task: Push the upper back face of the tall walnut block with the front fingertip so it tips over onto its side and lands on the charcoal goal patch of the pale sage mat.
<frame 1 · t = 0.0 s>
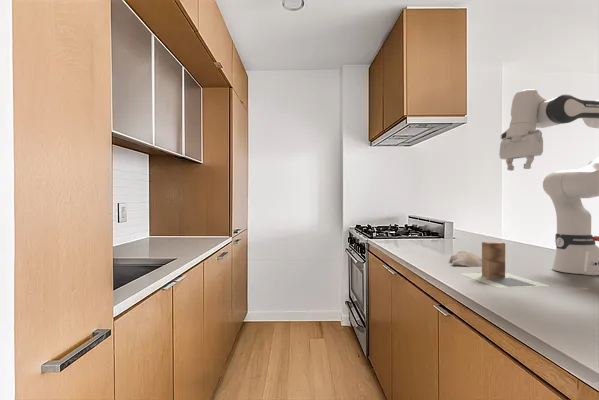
hand: (518, 169, 155), 39 cm above the countertop, tool pointing down, fingers open, 8 cm apart
sage mat: (501, 280, 142), on the countertop
walnut block: (493, 276, 146), resting on sage mat
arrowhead: (466, 262, 183), on the countertop
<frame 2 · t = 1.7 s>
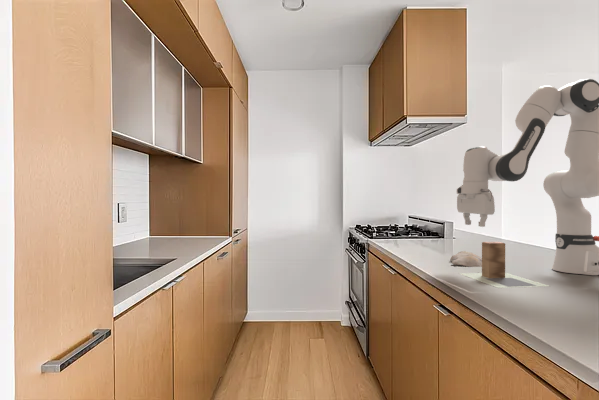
hand: (474, 225, 158), 18 cm above the countertop, tool pointing down, fingers open, 8 cm apart
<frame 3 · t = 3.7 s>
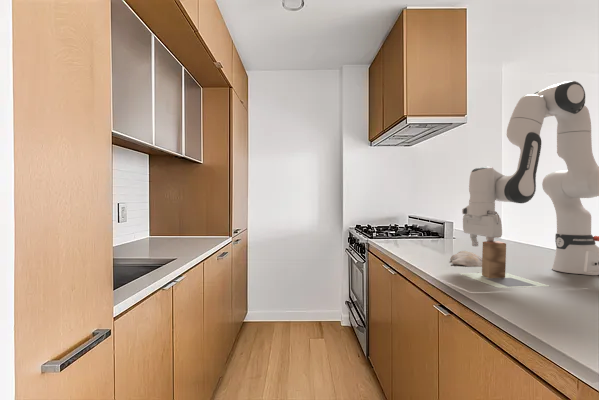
hand: (481, 247, 153), 10 cm above the countertop, tool pointing down, fingers open, 7 cm apart
walnut block: (493, 276, 146), point 1 cm above the countertop, touching gripper, sage mat
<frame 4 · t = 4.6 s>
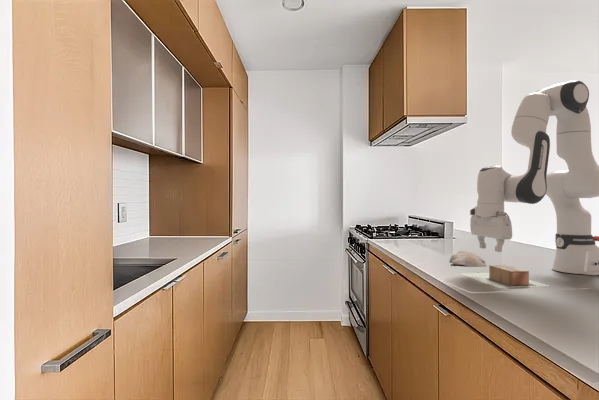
hand: (490, 249, 148), 10 cm above the countertop, tool pointing down, fingers open, 8 cm apart
walnut block: (497, 271, 144), point 3 cm above the countertop, tilted 90°, touching sage mat
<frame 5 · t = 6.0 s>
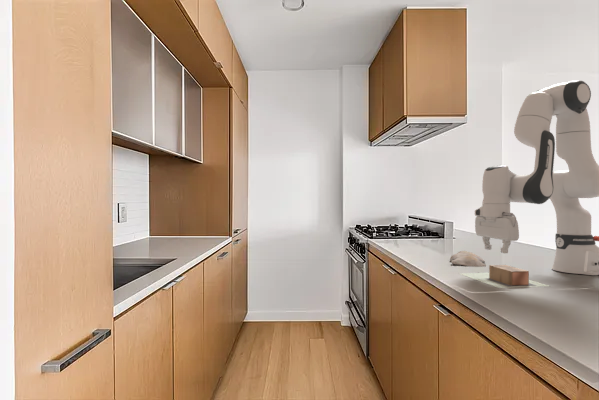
hand: (495, 251, 145), 10 cm above the countertop, tool pointing down, fingers open, 8 cm apart
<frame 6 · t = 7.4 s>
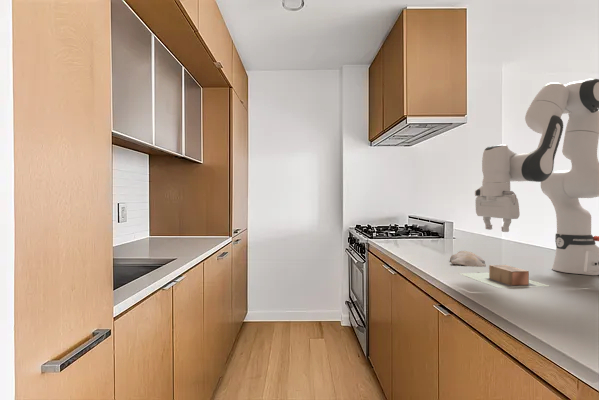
hand: (496, 230, 145), 17 cm above the countertop, tool pointing down, fingers open, 8 cm apart
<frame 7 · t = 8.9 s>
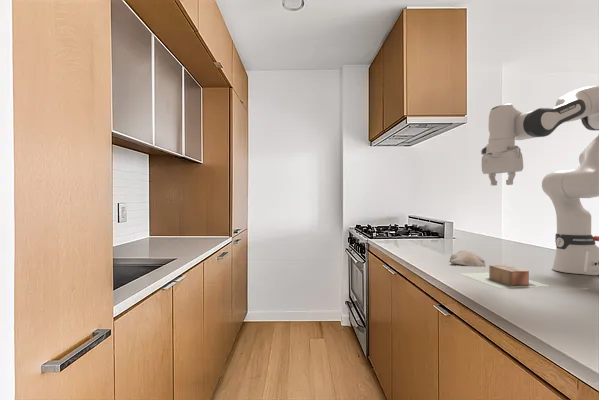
hand: (501, 185, 154), 33 cm above the countertop, tool pointing down, fingers open, 8 cm apart
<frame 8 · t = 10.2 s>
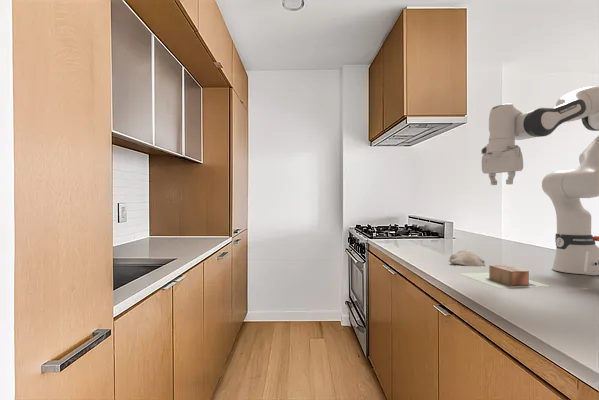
hand: (501, 184, 154), 33 cm above the countertop, tool pointing down, fingers open, 8 cm apart
at the end: walnut block tilted 90°; walnut block inside the target area (3.2 cm from its centre), point 2.7 cm above the countertop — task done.
